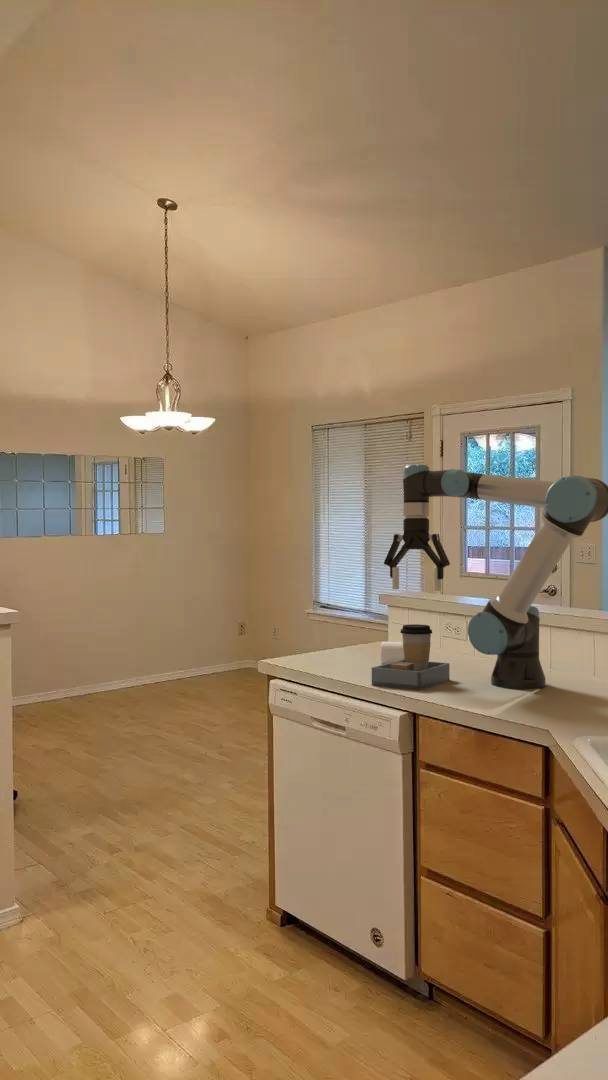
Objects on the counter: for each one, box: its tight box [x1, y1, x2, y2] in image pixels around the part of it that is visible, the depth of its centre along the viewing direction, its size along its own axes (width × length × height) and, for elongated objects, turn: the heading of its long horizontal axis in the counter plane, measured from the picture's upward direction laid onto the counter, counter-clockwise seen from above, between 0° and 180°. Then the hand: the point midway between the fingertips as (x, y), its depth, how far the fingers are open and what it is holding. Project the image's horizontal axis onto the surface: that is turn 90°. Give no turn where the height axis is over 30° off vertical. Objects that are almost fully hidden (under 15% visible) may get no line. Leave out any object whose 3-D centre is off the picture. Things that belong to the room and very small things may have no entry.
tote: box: [371, 659, 450, 691], centre depth 248 cm, size 15×20×5 cm
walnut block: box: [391, 662, 414, 671], centre depth 243 cm, size 5×5×5 cm
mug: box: [380, 641, 404, 665], centre depth 281 cm, size 12×10×8 cm
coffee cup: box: [400, 624, 433, 672], centre depth 251 cm, size 9×9×15 cm
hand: (416, 590), depth 251 cm, fingers open, 13 cm apart
